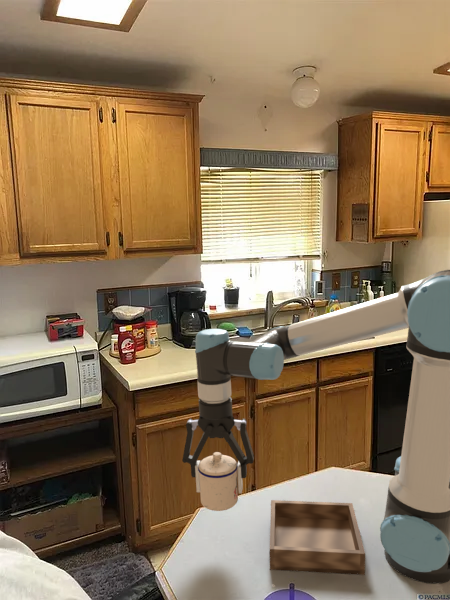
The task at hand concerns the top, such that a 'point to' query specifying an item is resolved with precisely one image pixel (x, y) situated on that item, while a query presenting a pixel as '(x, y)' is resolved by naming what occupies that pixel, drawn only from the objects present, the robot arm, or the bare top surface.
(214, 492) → the teacup with lid
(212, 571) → the top surface
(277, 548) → the walnut box
